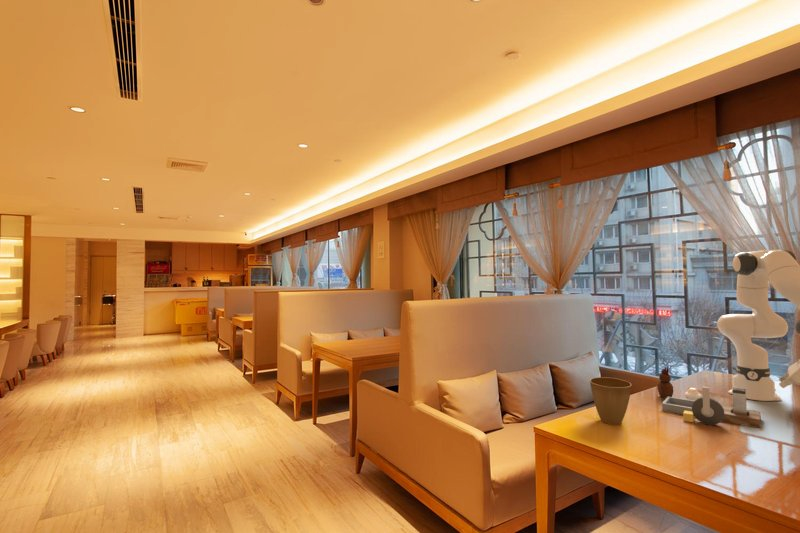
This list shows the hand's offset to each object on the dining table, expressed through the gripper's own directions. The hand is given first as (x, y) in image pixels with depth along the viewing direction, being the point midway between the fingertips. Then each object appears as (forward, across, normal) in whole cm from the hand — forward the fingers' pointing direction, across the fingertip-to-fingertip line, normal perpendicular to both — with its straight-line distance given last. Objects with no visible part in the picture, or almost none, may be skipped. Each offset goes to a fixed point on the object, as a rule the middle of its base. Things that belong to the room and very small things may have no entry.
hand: (780, 383), depth 154 cm
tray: (+34, 0, -10) cm, 35 cm away
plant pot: (+47, +35, -24) cm, 64 cm away
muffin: (+32, -14, -9) cm, 37 cm away
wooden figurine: (+40, -16, -17) cm, 47 cm away
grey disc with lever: (+28, +14, -4) cm, 31 cm away
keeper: (+20, 0, +3) cm, 21 cm away
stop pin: (+20, 0, +3) cm, 21 cm away
